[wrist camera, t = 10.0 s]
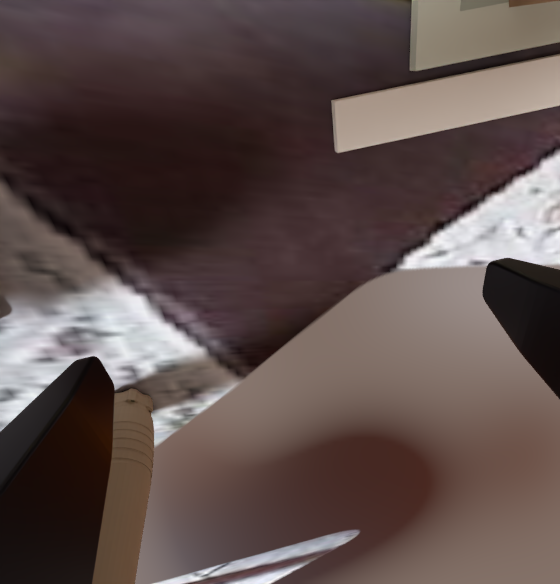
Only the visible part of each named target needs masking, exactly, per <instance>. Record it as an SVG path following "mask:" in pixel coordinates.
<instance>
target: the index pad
mask: <svg viewBox="0 0 560 584" xmlns="http://www.w3.org/2000/svg"><path fill="white" fill-rule="evenodd" d="M558 42H560V1H553V2H546V3H538V4H531V5H523V6H516V7H509V0H412V9H411V39H410V69H409V71H419V70H424V69H429V68H434V67H439V66H444V65H449V64H454V63H459V62H464V61H469V60H473V59H478V58H483V57H488V56H493V55H498V54H503V53H508V52H513V51H518V50H523V49H528V48H533V47H538V46H543V45H548V44H553V43H558Z"/></svg>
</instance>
